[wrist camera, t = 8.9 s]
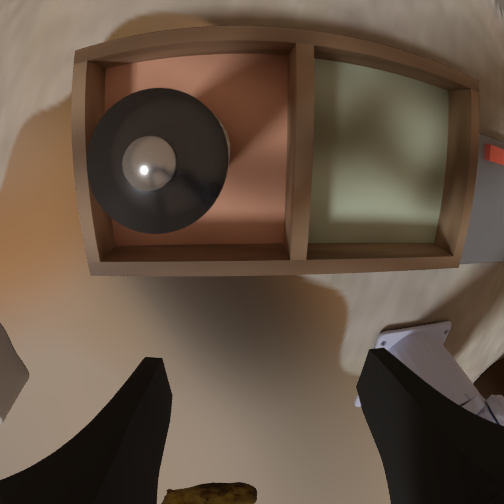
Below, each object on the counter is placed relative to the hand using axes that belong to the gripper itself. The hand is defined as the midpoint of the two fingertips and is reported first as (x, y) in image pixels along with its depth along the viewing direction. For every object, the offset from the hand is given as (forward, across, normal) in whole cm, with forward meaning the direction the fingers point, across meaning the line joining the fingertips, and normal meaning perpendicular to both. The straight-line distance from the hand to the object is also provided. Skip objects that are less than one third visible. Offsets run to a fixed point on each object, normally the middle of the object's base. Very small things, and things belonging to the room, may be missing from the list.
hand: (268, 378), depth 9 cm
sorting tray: (+9, -2, -7) cm, 12 cm away
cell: (+8, +3, -7) cm, 11 cm away
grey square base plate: (+9, -19, -5) cm, 22 cm away
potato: (+10, +6, +35) cm, 37 cm away
